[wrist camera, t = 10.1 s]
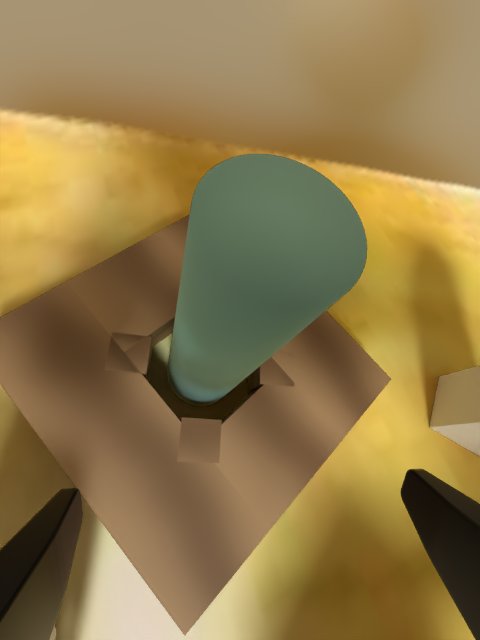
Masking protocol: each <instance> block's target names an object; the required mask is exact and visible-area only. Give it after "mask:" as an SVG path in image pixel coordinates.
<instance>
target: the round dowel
mask: <svg viewBox="0 0 480 640" xmlns="http://www.w3.org/2000/svg"><path fill="white" fill-rule="evenodd" d="M366 258H367V241H366V235H365V231H364V228H363V225H362V222H361V220H360V217H359V215H358V213H357V211H356V210H355V208H354V207H353V205H352V203H351V202H350V201H349V200H348V198H347V197H346V196H345V194H344V193H343V192H342V191H341V190H340V189H339V188H338V187H337V186H336V185H335V184H333V183H332V182H331V181H330V180H329V179H327V178H326V177H325V176H323V175H322V174H320V173H319V172H317V171H316V170H314V169H312V168H310V167H308V166H306V165H304V164H302V163H300V162H297V161H295V160H292V159H288V158H285V157H281V156H276V155H269V154H247V155H241V156H237V157H233V158H230V159H227V160H225V161H223V162H221V163H219V164H217V165H216V166H214V167H213V168H212V169H211V170H209V171H208V172H207V173H206V174H205V175H204V176H203V178H202V179H201V180H200V182H199V184H198V185H197V187H196V189H195V192H194V194H193V198H192V203H191V209H190V216H189V223H188V230H187V237H186V244H185V251H184V258H183V265H182V272H181V279H180V286H179V293H178V300H177V307H176V314H175V321H174V328H173V335H172V342H171V349H170V356H169V364H168V373H167V374H168V381H169V384H170V387H171V388H172V390H173V392H174V393H175V394H176V395H177V396H178V397H179V398H180V399H181V400H183V401H184V402H186V403H189V404H191V405H196V406H205V405H210V404H213V403H215V402H217V401H219V400H220V399H221V398H223V397H224V396H225V395H226V394H227V393H229V392H230V391H231V390H232V389H233V388H235V387H236V386H237V385H238V384H239V383H241V382H242V381H243V380H244V379H245V378H246V377H248V376H249V375H250V374H251V373H252V372H254V371H255V370H256V369H257V368H258V367H259V366H261V365H262V364H263V363H264V362H265V361H267V360H268V359H269V358H270V357H271V356H272V355H274V354H275V353H276V352H277V351H278V350H280V349H281V348H282V347H283V346H284V345H286V344H287V343H288V342H289V341H290V340H291V339H293V338H294V337H295V336H296V335H297V334H299V333H300V332H301V331H302V330H303V329H304V328H306V327H307V326H308V325H309V324H310V323H312V322H313V321H314V320H315V319H316V318H317V317H319V316H320V315H321V314H322V313H323V312H325V311H326V310H327V309H328V308H329V307H331V306H332V305H333V304H334V303H335V302H336V301H338V300H339V299H340V298H341V297H342V296H344V295H345V294H346V293H347V292H348V291H349V290H350V289H351V288H352V287H353V286H354V285H355V284H356V282H357V281H358V279H359V278H360V276H361V274H362V272H363V269H364V267H365V262H366Z"/></svg>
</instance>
